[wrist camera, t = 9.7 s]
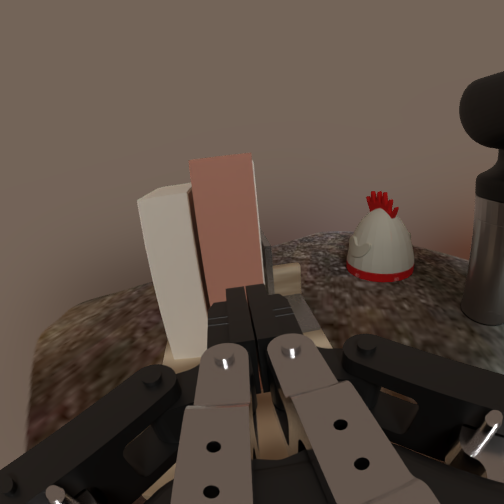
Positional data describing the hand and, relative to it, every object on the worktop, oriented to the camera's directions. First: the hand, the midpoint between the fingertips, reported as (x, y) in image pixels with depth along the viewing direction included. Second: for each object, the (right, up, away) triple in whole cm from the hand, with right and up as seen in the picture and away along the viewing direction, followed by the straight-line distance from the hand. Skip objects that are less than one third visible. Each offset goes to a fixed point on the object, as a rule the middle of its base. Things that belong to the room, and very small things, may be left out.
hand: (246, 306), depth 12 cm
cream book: (-7, -9, +27) cm, 30 cm away
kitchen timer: (+26, -1, +43) cm, 50 cm away
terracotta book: (-1, -9, +24) cm, 26 cm away
